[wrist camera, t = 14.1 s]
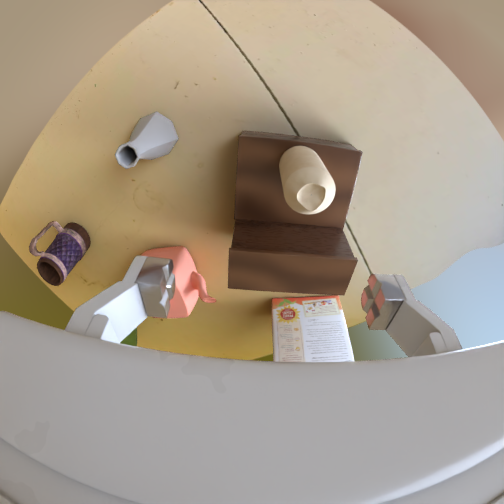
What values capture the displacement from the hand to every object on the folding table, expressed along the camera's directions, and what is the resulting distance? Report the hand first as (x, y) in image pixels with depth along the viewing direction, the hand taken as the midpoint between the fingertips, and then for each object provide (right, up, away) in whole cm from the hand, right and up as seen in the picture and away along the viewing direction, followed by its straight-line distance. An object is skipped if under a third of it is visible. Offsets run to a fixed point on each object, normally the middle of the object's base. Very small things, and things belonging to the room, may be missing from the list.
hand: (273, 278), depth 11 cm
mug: (-37, +6, +36) cm, 52 cm away
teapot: (-15, -2, +41) cm, 44 cm away
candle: (+5, +13, +24) cm, 28 cm away
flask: (-15, +18, +26) cm, 35 cm away
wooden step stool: (+5, +10, +31) cm, 33 cm away
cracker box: (+10, -10, +46) cm, 48 cm away
